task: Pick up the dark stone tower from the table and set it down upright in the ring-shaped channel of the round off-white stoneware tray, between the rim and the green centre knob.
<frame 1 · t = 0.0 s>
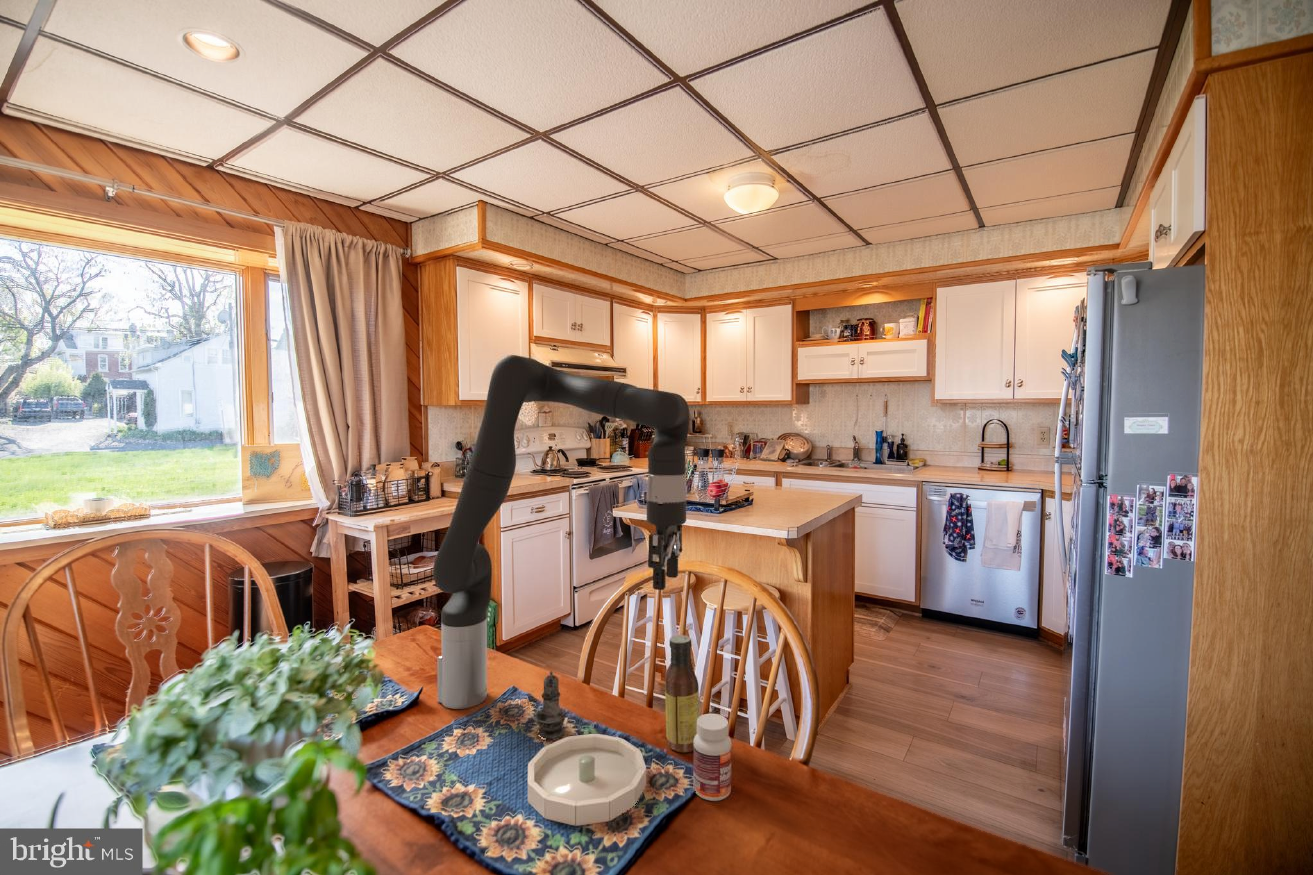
hand: (665, 582, 108), 29 cm above the table, tool pointing down, fingers open, 8 cm apart
dark stone tower: (551, 733, 110), on the table
pill bottle: (712, 791, 93), on the table
sauce bottle: (682, 745, 106), on the table
tray: (586, 783, 94), on the table
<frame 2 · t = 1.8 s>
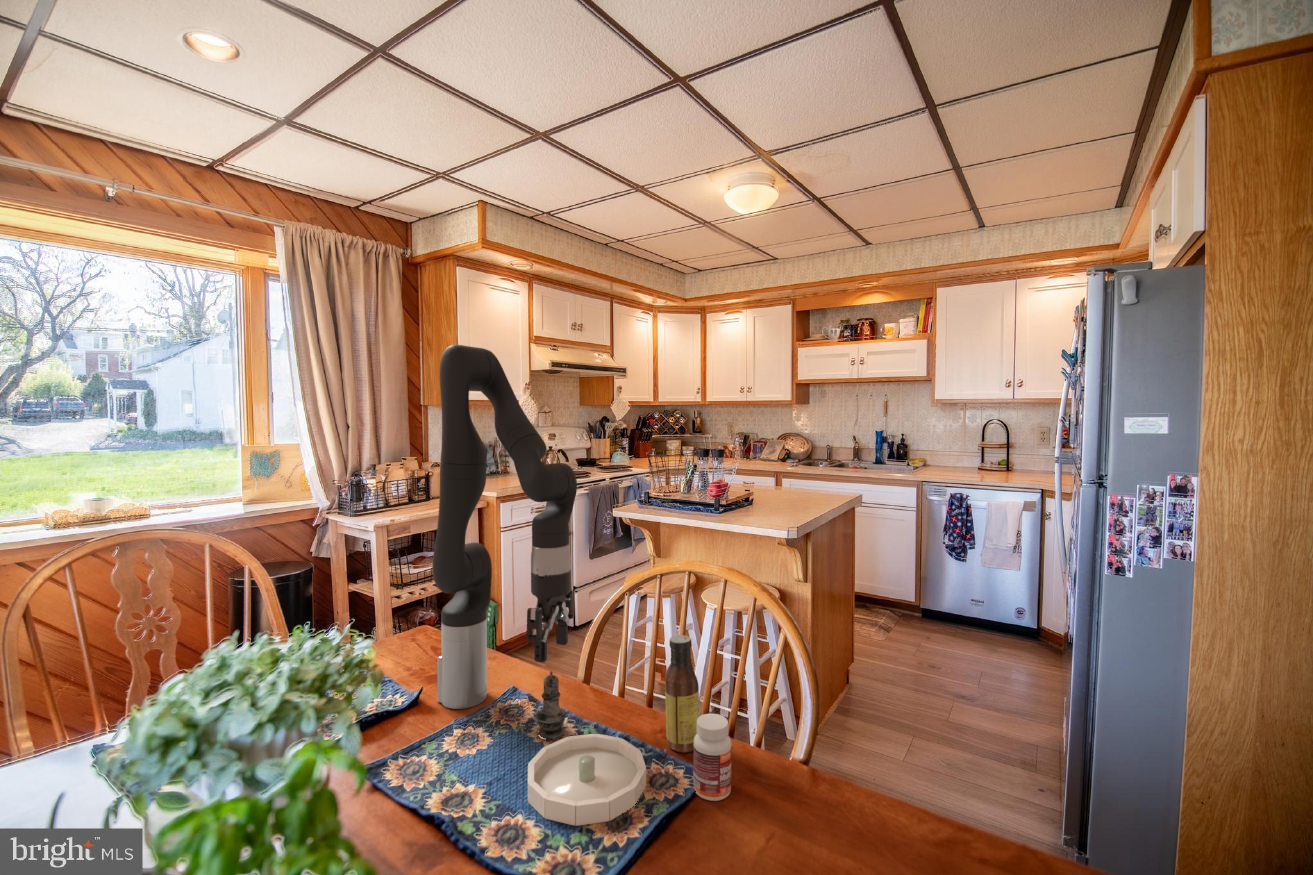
hand: (551, 652, 109), 16 cm above the table, tool pointing down, fingers open, 8 cm apart
nothing on the table moved.
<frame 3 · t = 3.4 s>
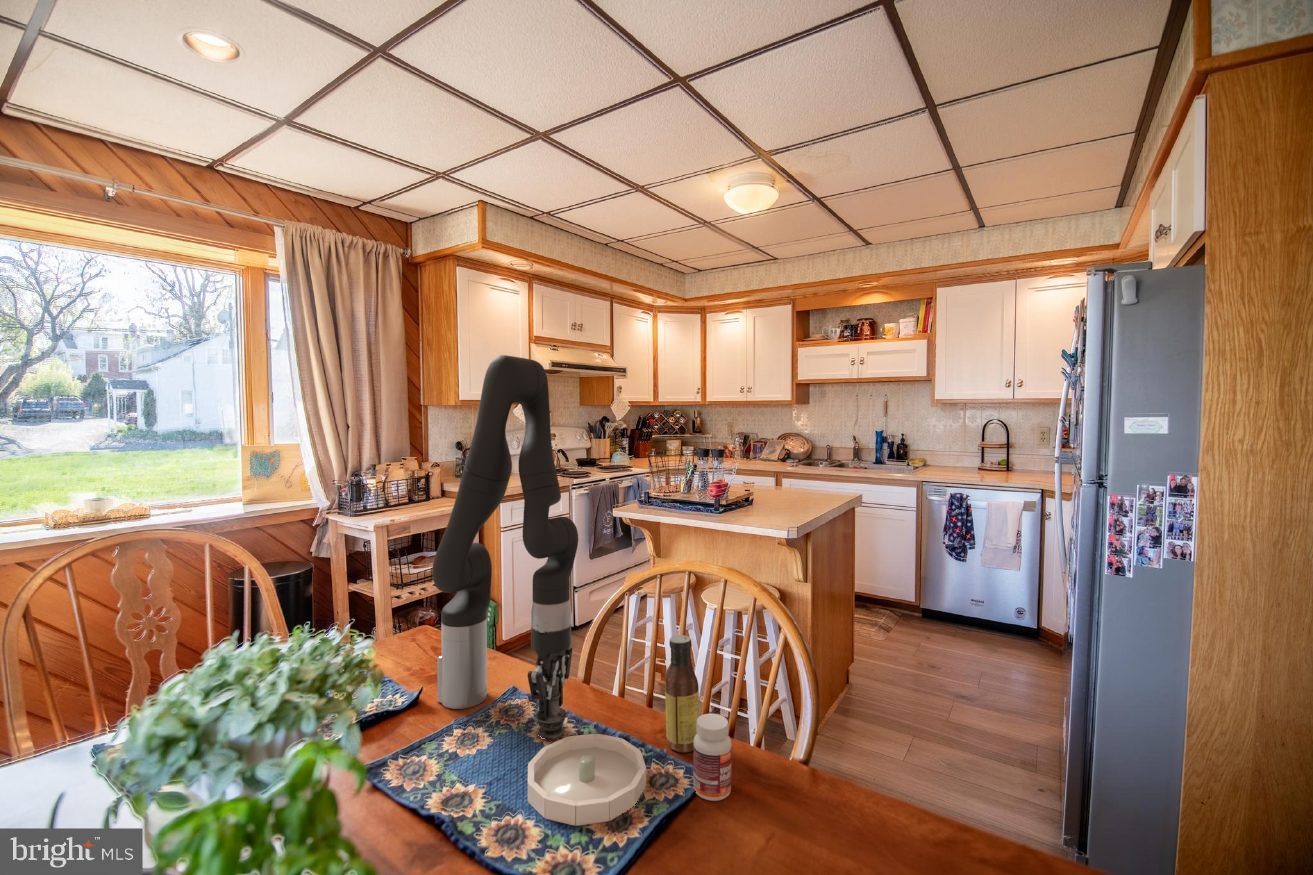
hand: (551, 710, 109), 4 cm above the table, tool pointing down, fingers closed on dark stone tower, 4 cm apart
dark stone tower: (551, 733, 110), on the table, touching gripper
everything else where it was.
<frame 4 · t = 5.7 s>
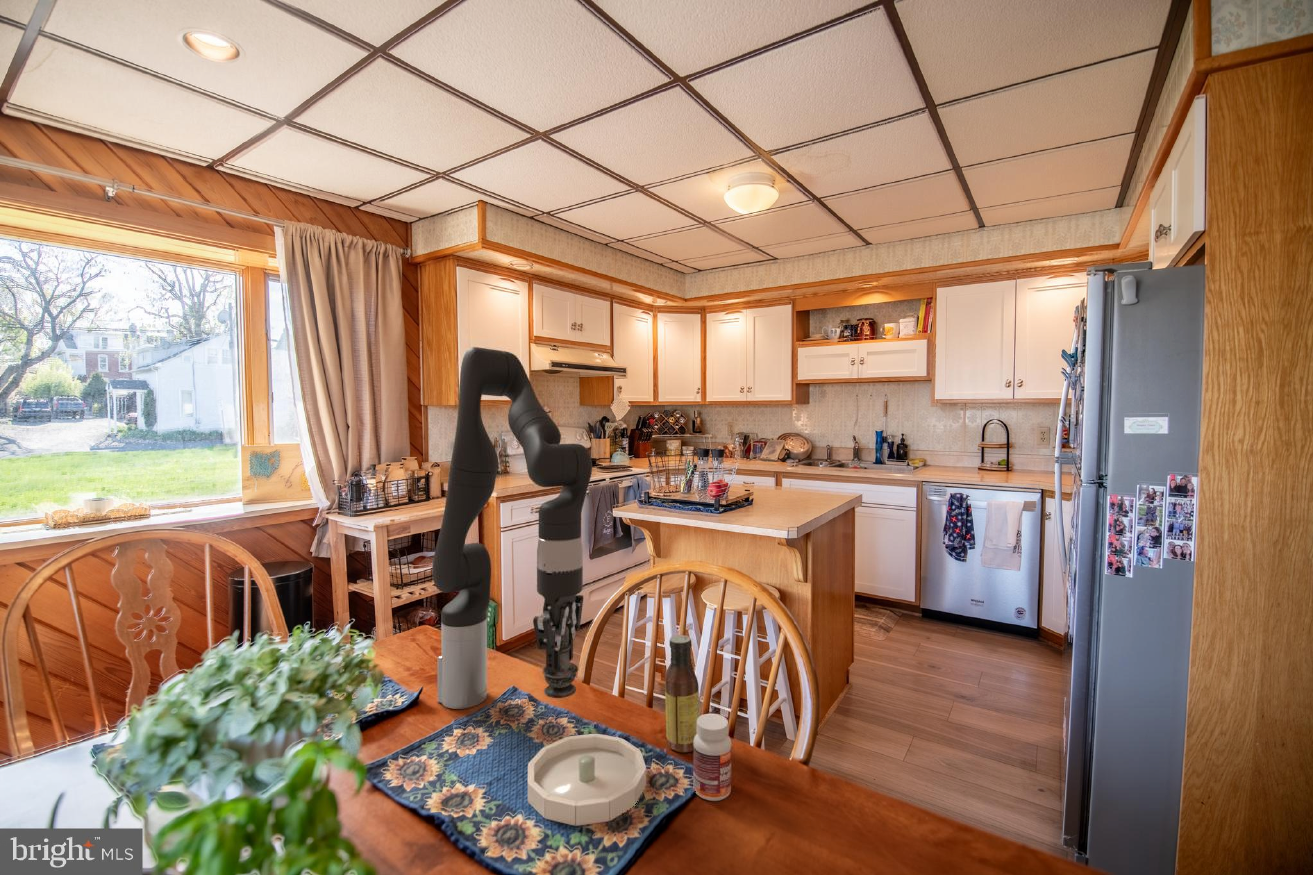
hand: (559, 665, 95), 19 cm above the table, tool pointing down, fingers closed on dark stone tower, 4 cm apart
dark stone tower: (560, 691, 95), point 15 cm above the table, touching gripper
everything else where it was.
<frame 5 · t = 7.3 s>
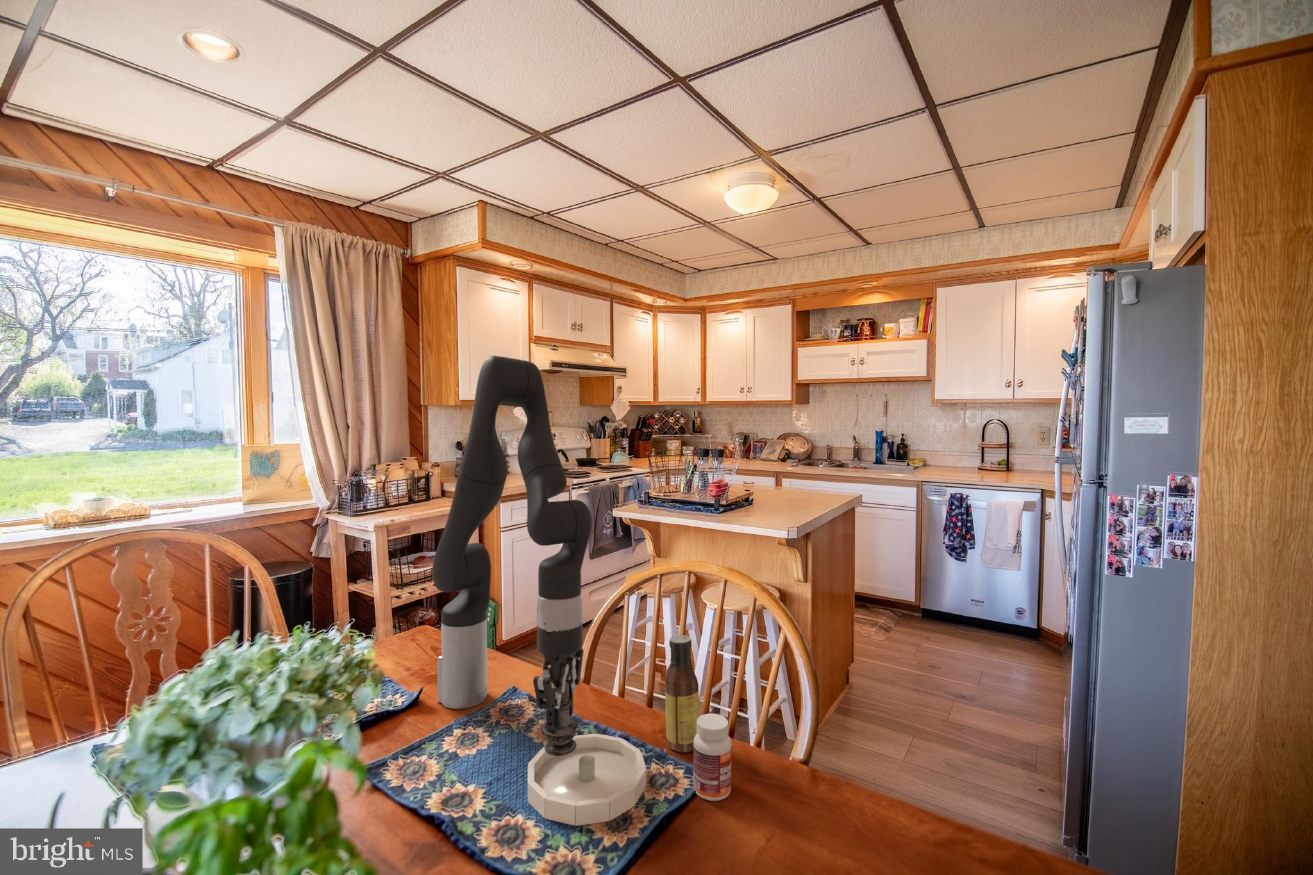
hand: (559, 721, 95), 10 cm above the table, tool pointing down, fingers closed on dark stone tower, 4 cm apart
dark stone tower: (560, 747, 96), point 5 cm above the table, touching gripper
everything else where it was.
when the fingers open (6 cm above the table, at t = 8.4 s): dark stone tower stays where it is, resting on tray.
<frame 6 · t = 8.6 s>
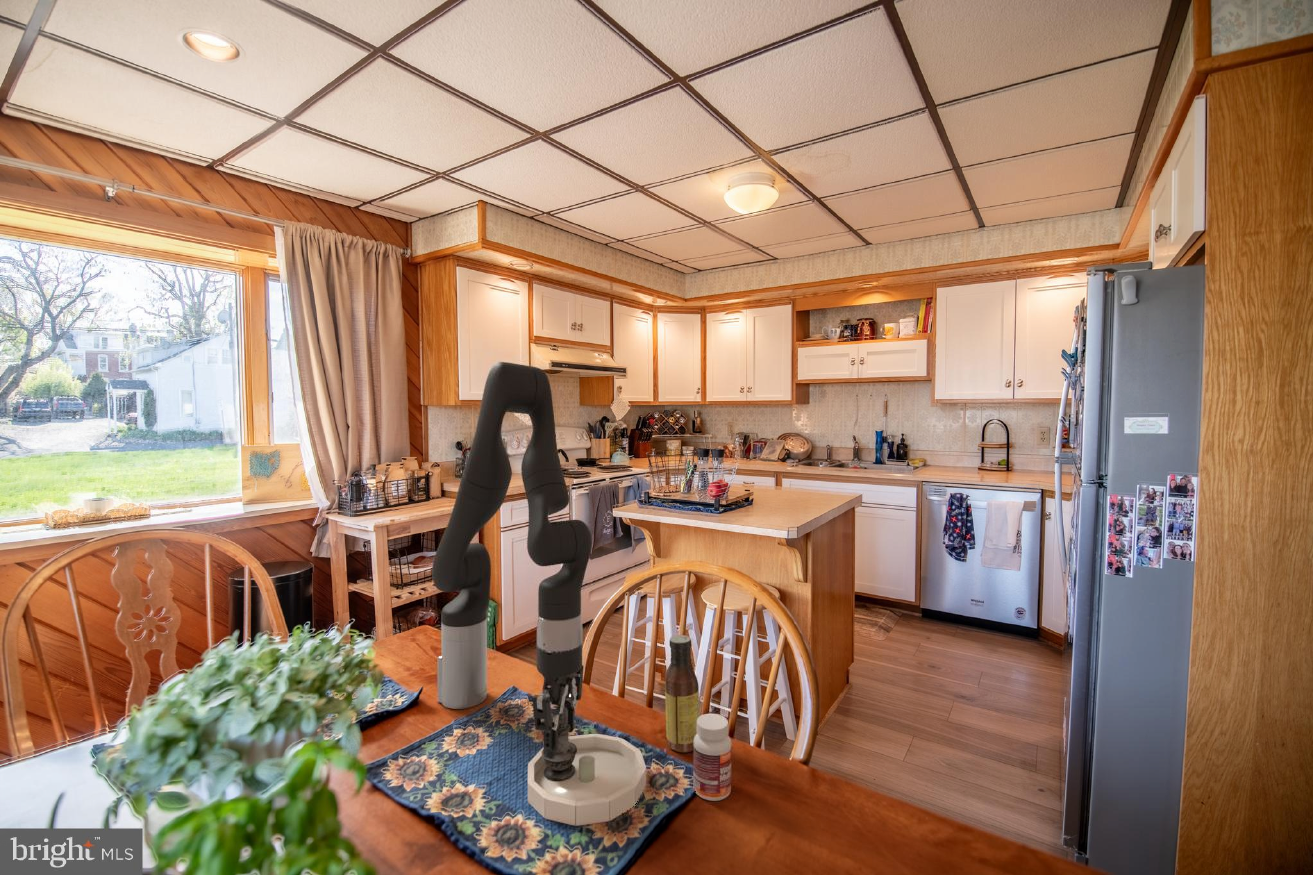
hand: (559, 739, 95), 6 cm above the table, tool pointing down, fingers open, 5 cm apart
dark stone tower: (559, 772, 96), point 1 cm above the table, touching tray
everything else where it was.
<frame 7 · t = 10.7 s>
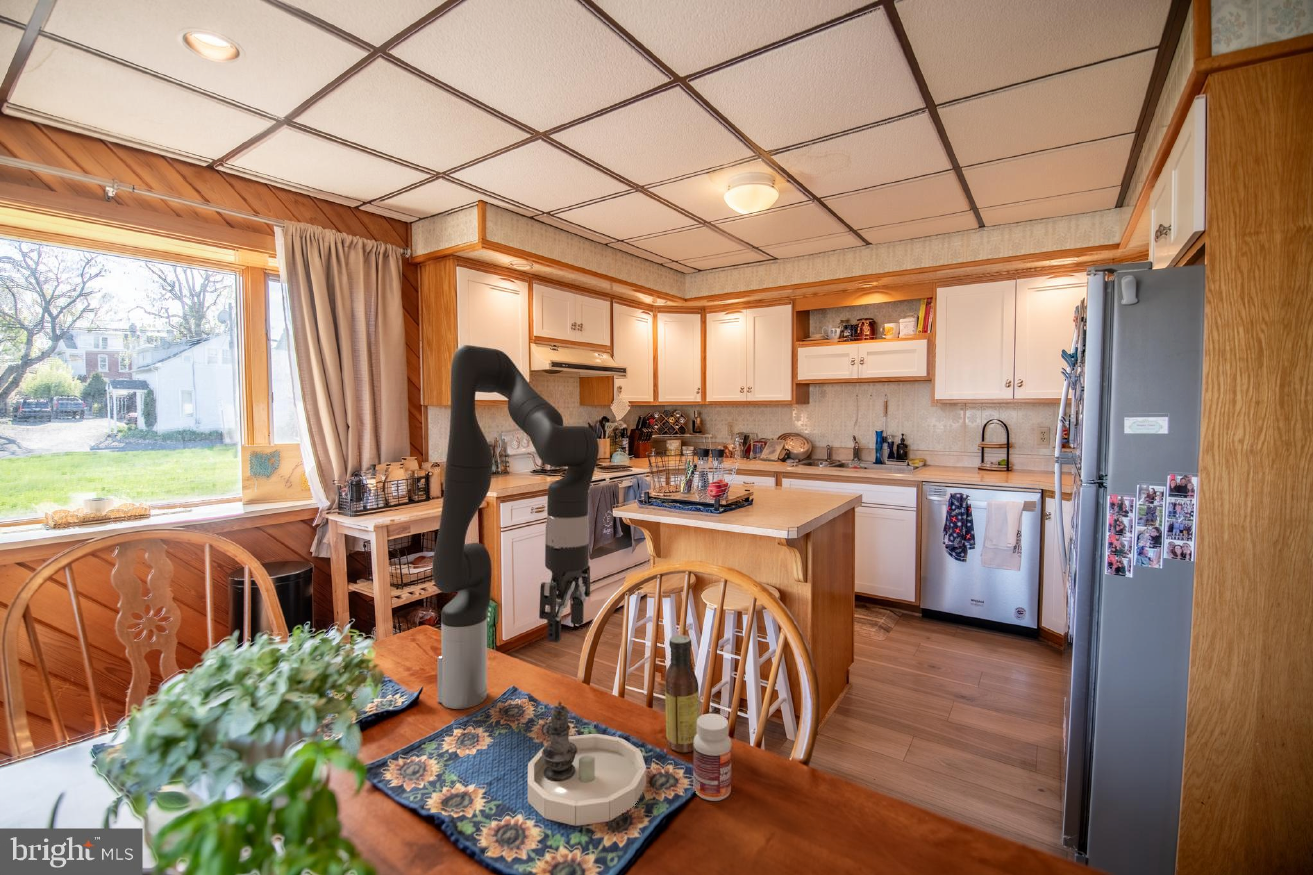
hand: (565, 632, 100), 23 cm above the table, tool pointing down, fingers open, 8 cm apart
nothing on the table moved.
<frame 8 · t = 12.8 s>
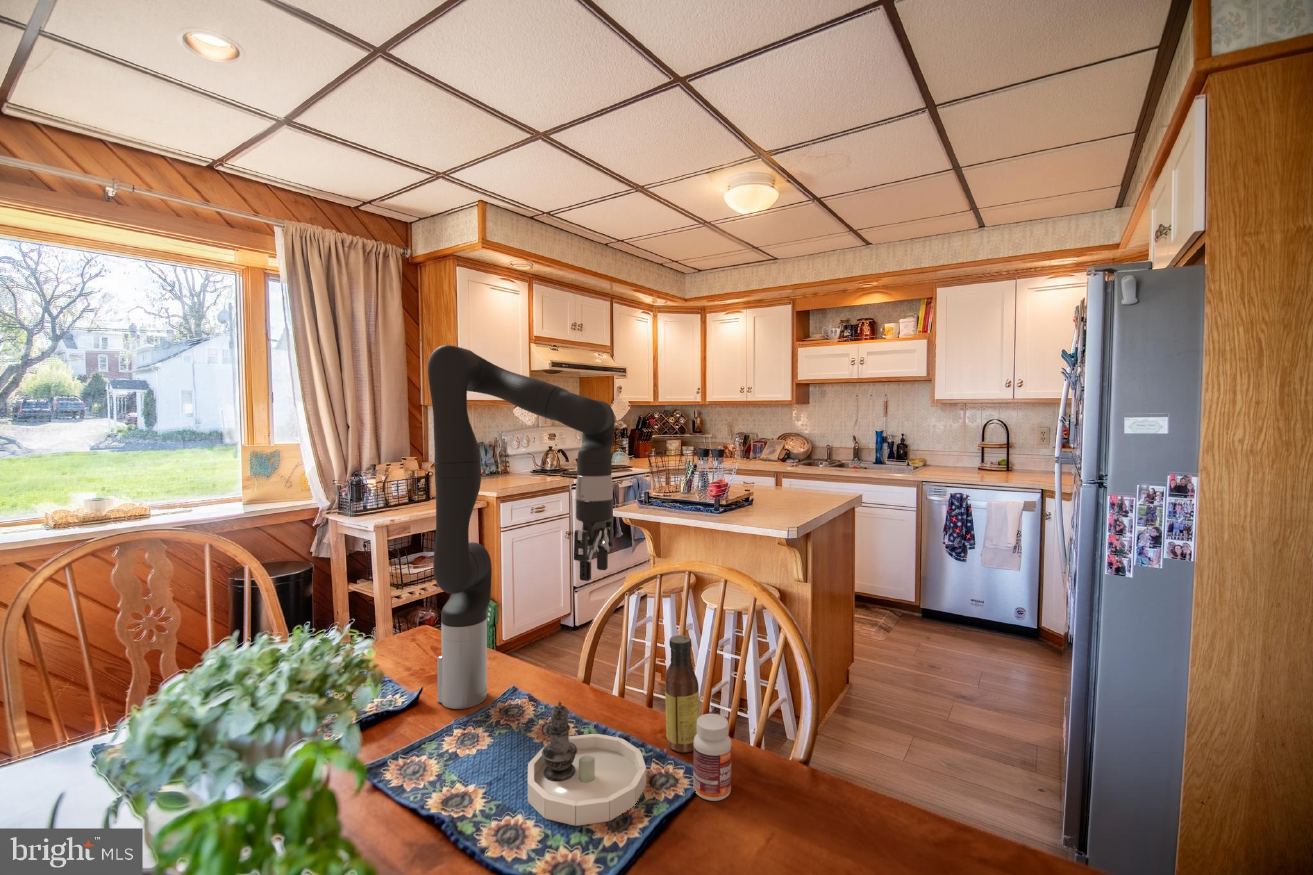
hand: (594, 574, 118), 28 cm above the table, tool pointing down, fingers open, 8 cm apart
nothing on the table moved.
at the end: dark stone tower 0.1 cm from the target spot on the tray, point 0.8 cm above the tray's base; dark stone tower tilted 0°; the gripper is holding nothing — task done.
